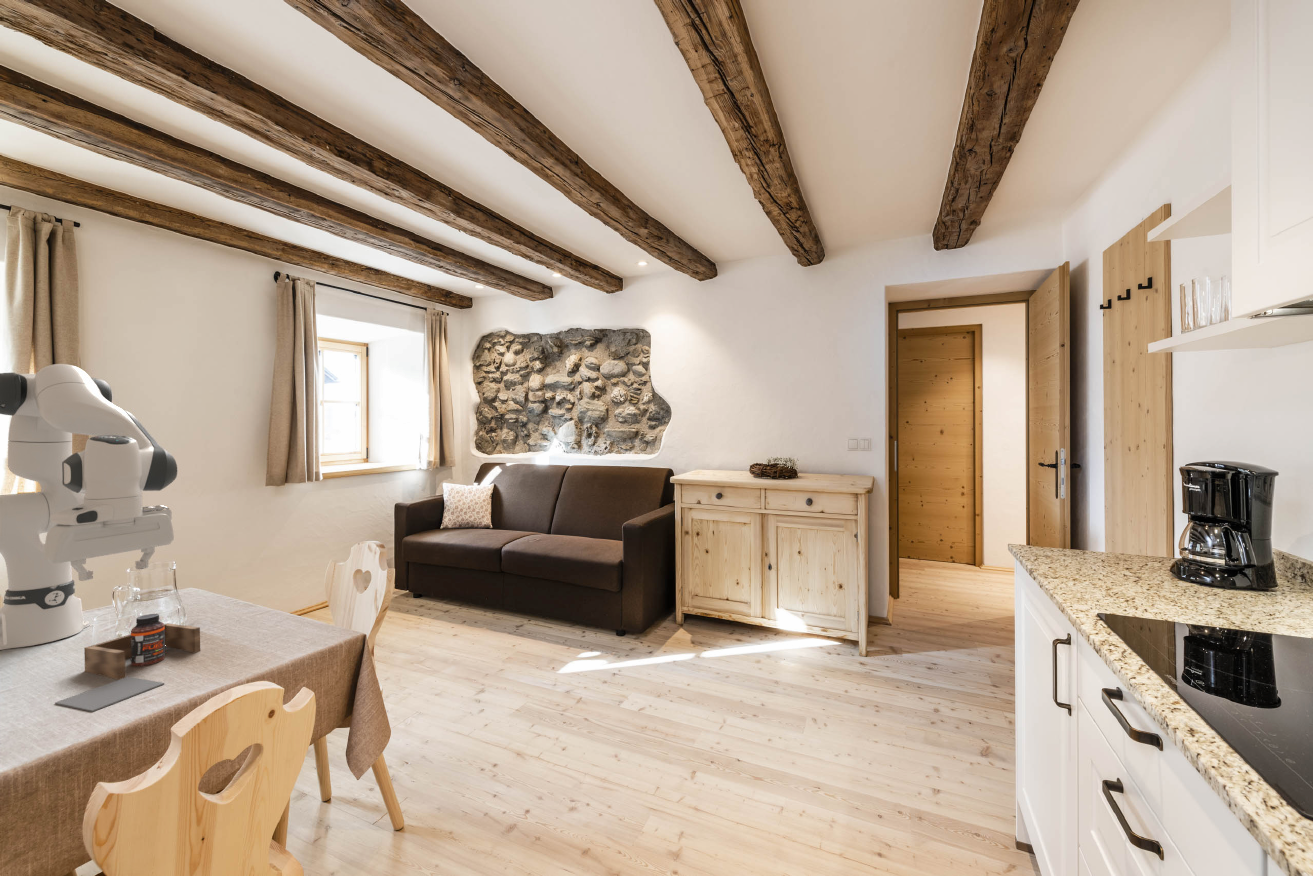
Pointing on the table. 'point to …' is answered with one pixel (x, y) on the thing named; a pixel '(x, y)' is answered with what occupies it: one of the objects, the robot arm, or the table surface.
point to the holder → (114, 652)
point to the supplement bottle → (147, 641)
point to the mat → (109, 694)
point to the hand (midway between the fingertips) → (115, 574)
